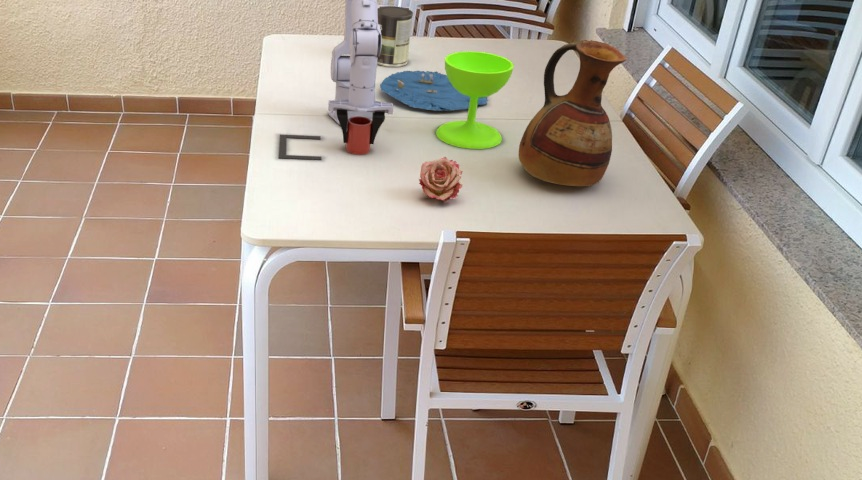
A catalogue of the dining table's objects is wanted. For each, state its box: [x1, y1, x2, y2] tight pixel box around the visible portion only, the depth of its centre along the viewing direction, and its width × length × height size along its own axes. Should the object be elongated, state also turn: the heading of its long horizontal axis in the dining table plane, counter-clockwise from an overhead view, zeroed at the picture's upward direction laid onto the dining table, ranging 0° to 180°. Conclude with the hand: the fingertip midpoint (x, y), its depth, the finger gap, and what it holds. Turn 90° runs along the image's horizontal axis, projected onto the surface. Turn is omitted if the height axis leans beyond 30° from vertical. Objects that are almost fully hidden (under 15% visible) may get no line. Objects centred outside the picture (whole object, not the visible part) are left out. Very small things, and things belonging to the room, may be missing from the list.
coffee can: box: [377, 5, 414, 68], centre depth 274 cm, size 10×10×14 cm
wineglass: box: [435, 50, 515, 150], centre depth 229 cm, size 16×16×18 cm
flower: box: [418, 156, 463, 203], centre depth 203 cm, size 10×9×8 cm
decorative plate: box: [379, 70, 488, 112], centre depth 256 cm, size 30×30×5 cm
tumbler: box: [345, 116, 372, 155], centre depth 222 cm, size 6×6×7 cm
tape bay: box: [278, 134, 322, 161], centre depth 223 cm, size 10×14×1 cm
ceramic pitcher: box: [518, 39, 627, 187], centre depth 209 cm, size 20×20×30 cm
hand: (358, 142), depth 222 cm, fingers closed on tumbler, 5 cm apart
